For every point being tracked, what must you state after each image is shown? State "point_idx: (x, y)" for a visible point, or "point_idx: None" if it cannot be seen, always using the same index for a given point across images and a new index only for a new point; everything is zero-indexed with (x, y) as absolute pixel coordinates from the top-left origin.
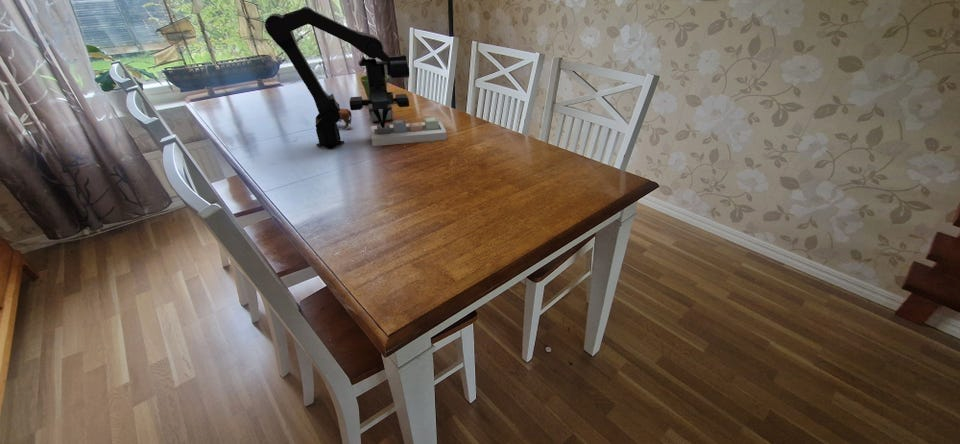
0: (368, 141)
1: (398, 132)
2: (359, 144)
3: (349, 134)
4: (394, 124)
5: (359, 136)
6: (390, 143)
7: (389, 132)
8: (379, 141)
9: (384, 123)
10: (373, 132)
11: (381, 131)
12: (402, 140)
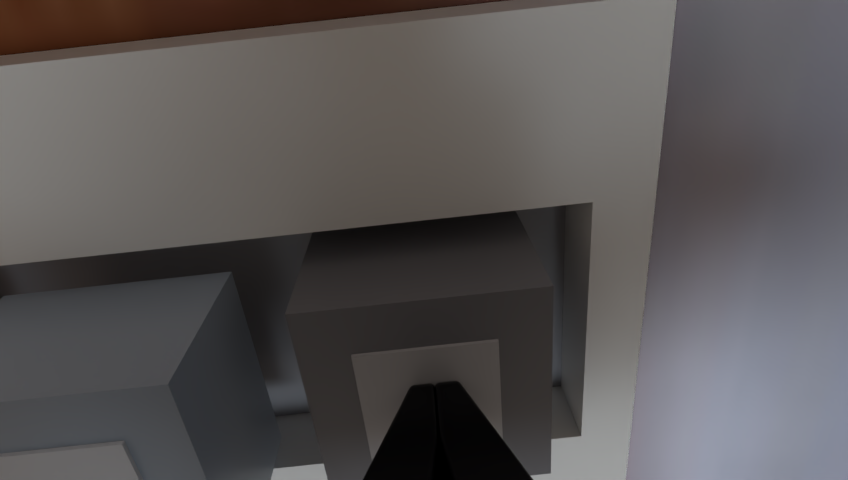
0: (657, 202)
1: (154, 281)
2: (805, 101)
3: (844, 431)
4: (142, 388)
5: (745, 371)
6: (305, 23)
7: (316, 271)
8: (502, 7)
9: (394, 441)
10: (605, 313)
11: (466, 271)
12: (66, 52)
